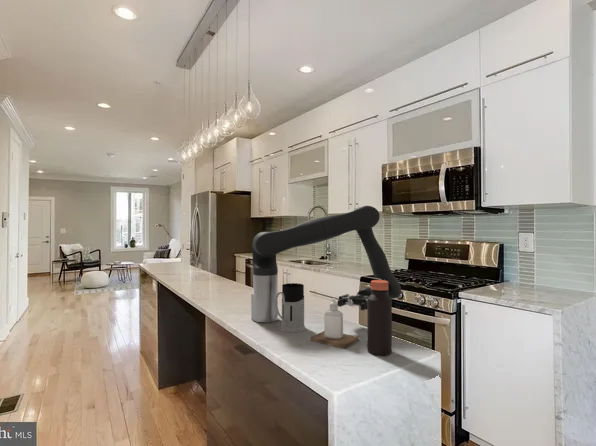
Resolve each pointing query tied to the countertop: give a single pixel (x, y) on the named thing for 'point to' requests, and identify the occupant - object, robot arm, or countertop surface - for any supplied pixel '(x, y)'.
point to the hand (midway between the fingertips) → (349, 305)
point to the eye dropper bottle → (333, 322)
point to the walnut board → (335, 340)
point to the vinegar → (379, 319)
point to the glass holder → (292, 307)
